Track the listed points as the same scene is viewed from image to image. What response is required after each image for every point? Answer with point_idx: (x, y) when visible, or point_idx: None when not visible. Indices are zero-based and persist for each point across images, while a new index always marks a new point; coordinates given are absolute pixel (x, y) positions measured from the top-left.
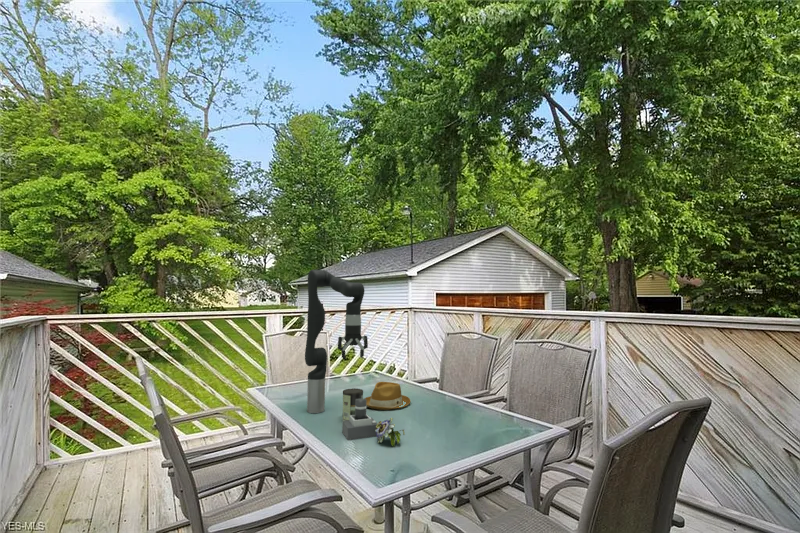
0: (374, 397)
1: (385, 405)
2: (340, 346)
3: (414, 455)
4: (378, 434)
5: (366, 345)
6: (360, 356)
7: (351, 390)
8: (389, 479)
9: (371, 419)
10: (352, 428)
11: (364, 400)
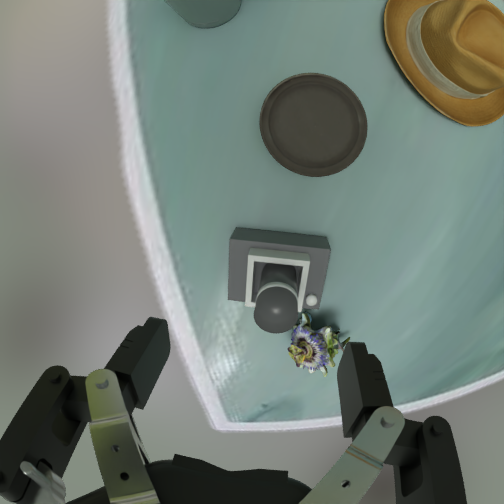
0: (429, 47)
1: (446, 87)
2: (71, 431)
3: (324, 387)
4: (295, 339)
5: (407, 476)
6: (345, 356)
7: (311, 108)
8: (249, 416)
9: (300, 311)
10: (241, 300)
11: (285, 327)
